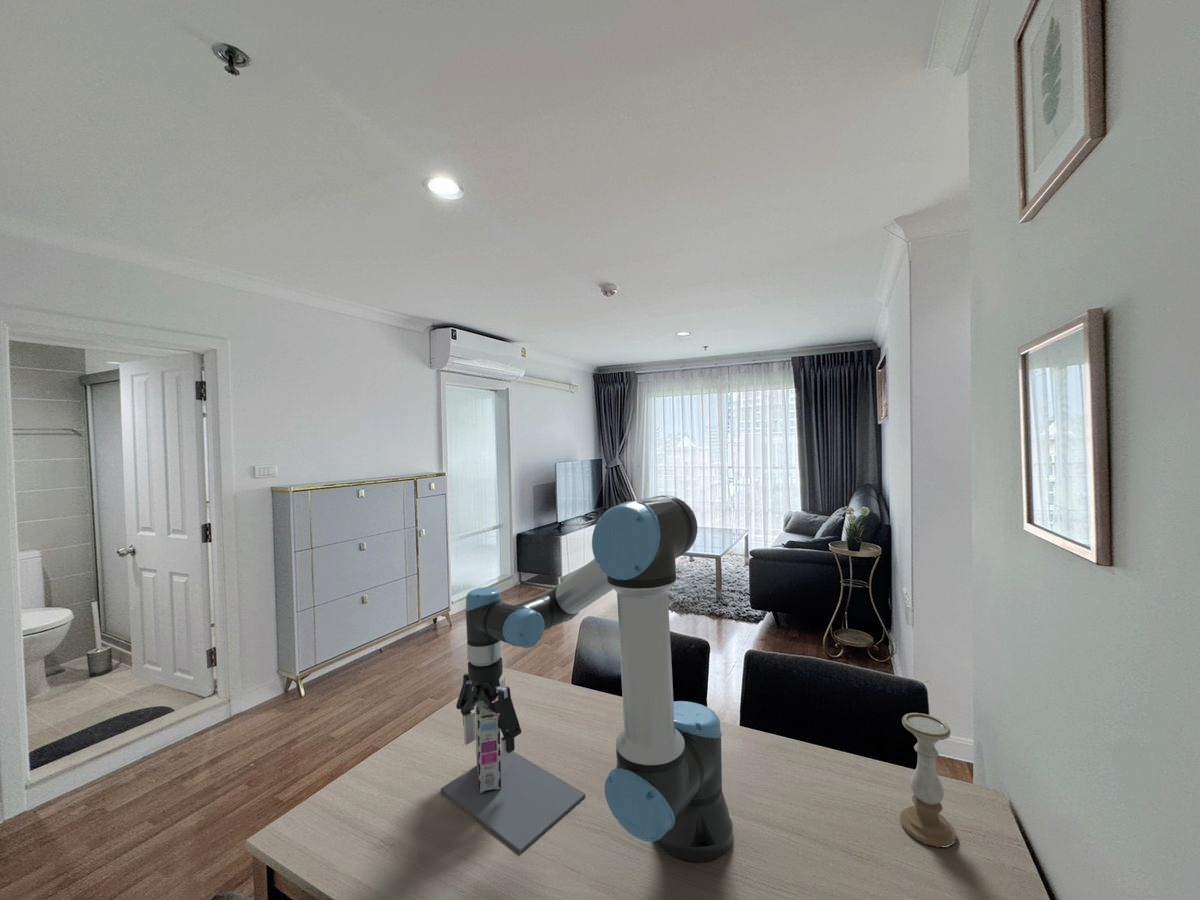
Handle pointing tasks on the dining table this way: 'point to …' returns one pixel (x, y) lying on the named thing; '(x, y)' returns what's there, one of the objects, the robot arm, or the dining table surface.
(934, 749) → the candle holder
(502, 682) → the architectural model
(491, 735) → the candy bar box
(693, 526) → the robot arm
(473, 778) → the mat
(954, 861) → the dining table surface
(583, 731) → the dining table surface
